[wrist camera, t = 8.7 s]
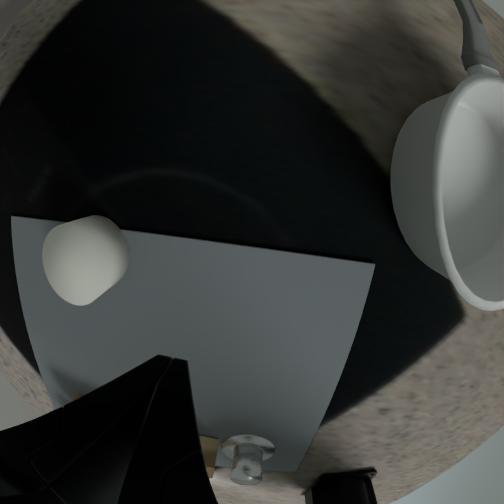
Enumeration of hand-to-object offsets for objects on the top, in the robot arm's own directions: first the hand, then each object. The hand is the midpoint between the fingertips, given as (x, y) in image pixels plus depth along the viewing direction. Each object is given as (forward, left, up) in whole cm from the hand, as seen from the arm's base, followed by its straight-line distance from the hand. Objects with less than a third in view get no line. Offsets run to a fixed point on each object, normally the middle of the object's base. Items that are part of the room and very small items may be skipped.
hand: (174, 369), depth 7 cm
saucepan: (-12, -11, -9) cm, 19 cm away
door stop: (+8, 0, -8) cm, 11 cm away
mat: (+4, +9, -8) cm, 13 cm away
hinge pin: (-3, +15, -8) cm, 18 cm away
